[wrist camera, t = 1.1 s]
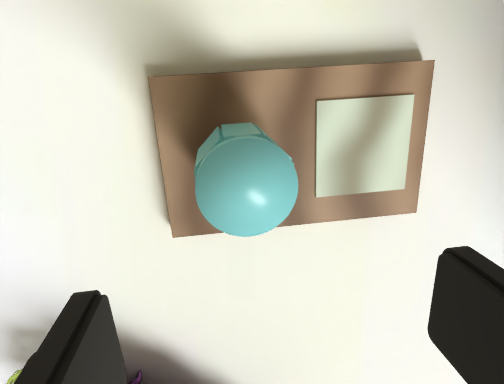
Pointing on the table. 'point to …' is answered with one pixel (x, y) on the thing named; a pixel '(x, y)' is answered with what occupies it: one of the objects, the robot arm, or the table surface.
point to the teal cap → (244, 180)
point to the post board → (304, 135)
